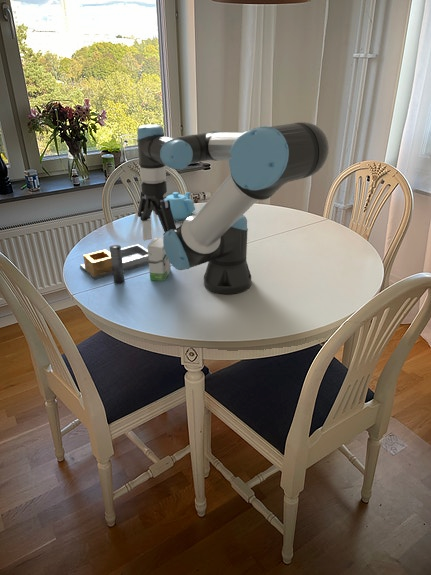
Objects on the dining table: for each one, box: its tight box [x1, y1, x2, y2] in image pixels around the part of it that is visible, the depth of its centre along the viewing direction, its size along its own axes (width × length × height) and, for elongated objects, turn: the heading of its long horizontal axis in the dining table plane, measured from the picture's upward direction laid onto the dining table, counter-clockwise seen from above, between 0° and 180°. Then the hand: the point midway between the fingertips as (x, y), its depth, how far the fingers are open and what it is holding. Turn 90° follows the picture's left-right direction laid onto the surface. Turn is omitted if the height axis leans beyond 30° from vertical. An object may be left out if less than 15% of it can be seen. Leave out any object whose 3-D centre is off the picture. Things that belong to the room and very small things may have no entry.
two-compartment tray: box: [79, 243, 149, 281], centre depth 154 cm, size 12×23×5 cm, turn 126°
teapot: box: [164, 191, 196, 221], centre depth 197 cm, size 15×15×11 cm
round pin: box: [109, 244, 126, 285], centre depth 141 cm, size 3×3×12 cm
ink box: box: [146, 237, 172, 282], centre depth 144 cm, size 9×5×12 cm, turn 169°
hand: (158, 246), depth 143 cm, fingers open, 13 cm apart
